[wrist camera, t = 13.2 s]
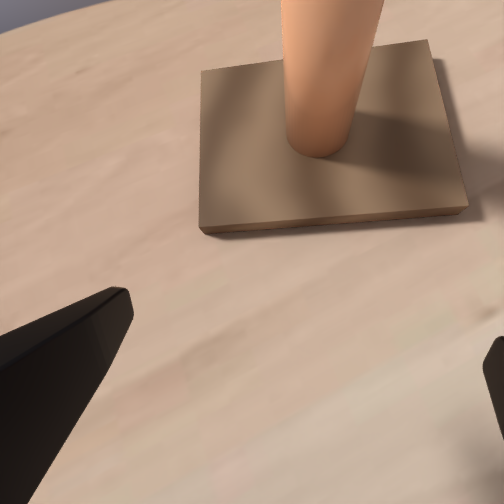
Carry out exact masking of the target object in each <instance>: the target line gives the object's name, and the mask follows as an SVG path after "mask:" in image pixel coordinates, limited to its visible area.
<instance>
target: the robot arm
mask: <svg viewBox="0 0 504 504" xmlns="http://www.w3.org/2000/svg"><path fill="white" fill-rule="evenodd" d="M133 316H134V311H133V306H132V302H131V298H130V294H129V291H128V290H127V289H126V288H122V287H109V288H107V289H105V290H103V291H100V292H98V293H96V294H94V295H91V296H89V297H87V298H85V299H82V300H80V301H78V302H75V303H73V304H71V305H69V306H66V307H64V308H62V309H60V310H57V311H55V312H53V313H51V314H48V315H46V316H44V317H42V318H39V319H37V320H35V321H33V322H30V323H28V324H26V325H24V326H21V327H19V328H17V329H15V330H12V331H10V332H8V333H6V334H3V335H1V336H0V504H28V502H29V501H30V499H31V497H32V496H33V494H34V492H35V491H36V489H37V487H38V486H39V484H40V482H41V481H42V479H43V477H44V476H45V474H46V473H47V471H48V469H49V468H50V466H51V464H52V463H53V461H54V459H55V458H56V456H57V454H58V453H59V451H60V449H61V448H62V446H63V445H64V443H65V441H66V440H67V438H68V436H69V435H70V433H71V431H72V430H73V428H74V426H75V425H76V423H77V421H78V420H79V418H80V416H81V415H82V413H83V412H84V410H85V408H86V407H87V405H88V403H89V402H90V400H91V398H92V397H93V395H94V393H95V392H96V390H97V388H98V387H99V385H100V384H101V382H102V380H103V379H104V377H105V375H106V373H107V372H108V370H109V368H110V366H111V364H112V362H113V360H114V358H115V356H116V354H117V352H118V350H119V348H120V345H121V343H122V341H123V339H124V337H125V335H126V333H127V331H128V329H129V327H130V324H131V322H132V320H133ZM483 373H484V376H485V380H486V383H487V386H488V390H489V393H490V397H491V400H492V403H493V407H494V410H495V414H496V417H497V420H498V424H499V427H500V430H501V433H502V436H503V439H504V336H500V337H497V338H496V339H495V340H494V342H493V344H492V346H491V348H490V350H489V352H488V353H487V355H486V357H485V359H484V361H483Z"/></svg>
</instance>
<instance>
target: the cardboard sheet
mask: <svg viewBox="0 0 504 504" xmlns="http://www.w3.org/2000/svg"><path fill="white" fill-rule="evenodd" d="M468 206H469V203H468V199H467V195H466V191H465V187H464V183H463V179H462V175H461V171H460V167H459V163H458V159H457V155H456V151H455V147H454V143H453V139H452V135H451V131H450V127H449V123H448V119H447V115H446V111H445V107H444V103H443V99H442V95H441V91H440V87H439V83H438V79H437V75H436V71H435V68H434V64H433V60H432V56H431V52H430V48H429V44H428V40H427V39H426V40H419V41H412V42H405V43H398V44H391V45H383V46H376V47H372V49H371V53H370V57H369V60H368V64H367V68H366V72H365V75H364V79H363V83H362V87H361V91H360V94H359V98H358V102H357V106H356V110H355V113H354V117H353V121H352V125H351V128H350V132H349V136H348V139H347V141H346V143H345V144H344V146H343V147H342V148H341V149H340V150H338V151H337V152H335V153H334V154H332V155H329V156H326V157H320V158H313V157H307V156H304V155H302V154H300V153H298V152H297V151H295V150H294V149H293V148H292V147H291V146H290V144H289V142H288V140H287V136H286V116H285V91H284V65H283V60H276V61H269V62H262V63H255V64H248V65H241V66H234V67H226V68H219V69H212V70H205V71H201V109H200V173H199V228H200V229H201V231H202V232H203V233H204V234H212V233H225V232H238V231H251V230H264V229H277V228H290V227H303V226H316V225H329V224H342V223H355V222H368V221H381V220H394V219H406V218H419V217H432V216H445V215H457V214H459V213H460V212H461V211H463V210H464V209H465V208H467V207H468Z"/></svg>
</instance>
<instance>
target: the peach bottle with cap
mask: <svg viewBox="0 0 504 504" xmlns="http://www.w3.org/2000/svg"><path fill="white" fill-rule="evenodd" d="M383 4H384V0H281V15H282V40H283V65H284V91H285V116H286V136H287V140H288V142H289V144H290V146H291V147H292V148H293V149H294V150H295V151H297V152H298V153H300V154H302V155H304V156H307V157H313V158H320V157H326V156H329V155H332V154H334V153H335V152H337V151H338V150H340V149H341V148H342V147H343V146H344V144H345V143H346V141H347V139H348V136H349V132H350V128H351V125H352V121H353V117H354V113H355V110H356V106H357V102H358V98H359V94H360V91H361V87H362V83H363V79H364V75H365V72H366V68H367V64H368V60H369V57H370V53H371V49H372V45H373V41H374V38H375V34H376V30H377V26H378V22H379V19H380V15H381V11H382V7H383Z"/></svg>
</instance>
